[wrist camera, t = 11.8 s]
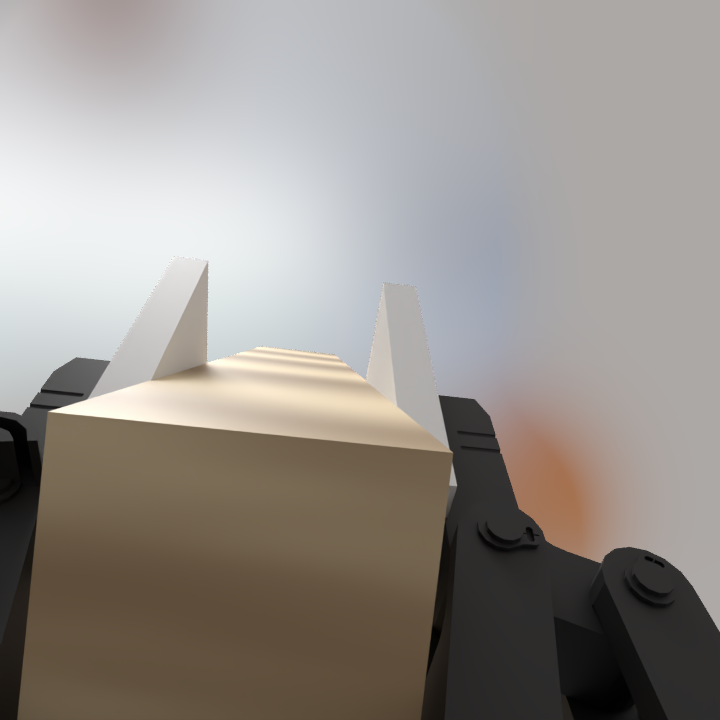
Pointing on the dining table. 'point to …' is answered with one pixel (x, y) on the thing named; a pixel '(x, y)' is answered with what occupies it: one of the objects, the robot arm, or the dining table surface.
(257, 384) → the oak rail
